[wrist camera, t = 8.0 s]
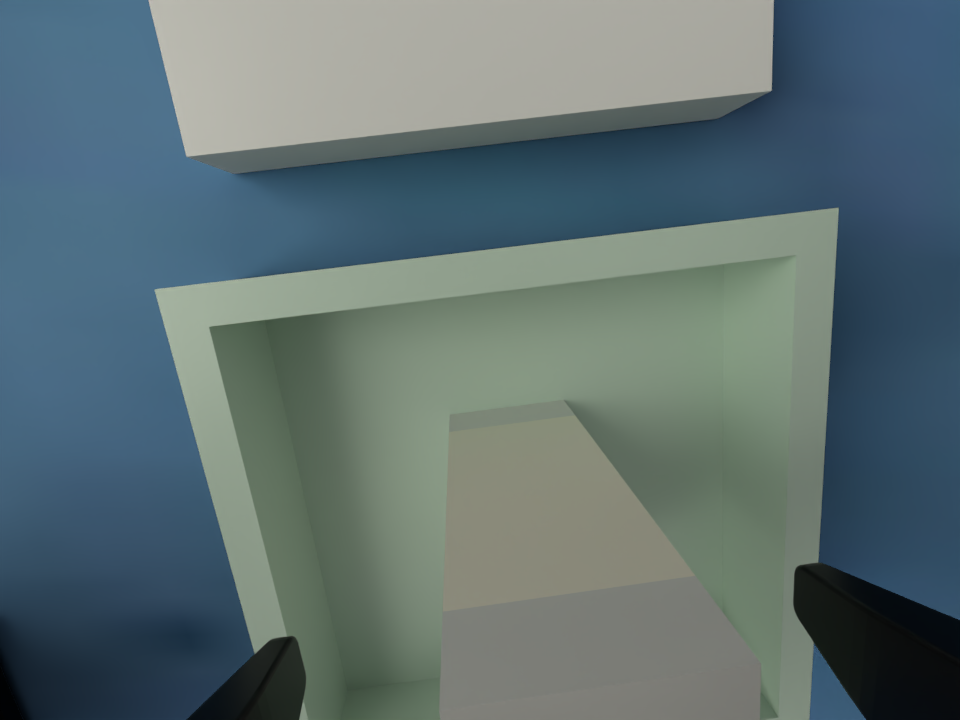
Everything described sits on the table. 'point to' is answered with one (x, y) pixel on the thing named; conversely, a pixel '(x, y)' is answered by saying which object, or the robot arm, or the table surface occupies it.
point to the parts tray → (498, 384)
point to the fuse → (571, 588)
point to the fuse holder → (447, 72)
